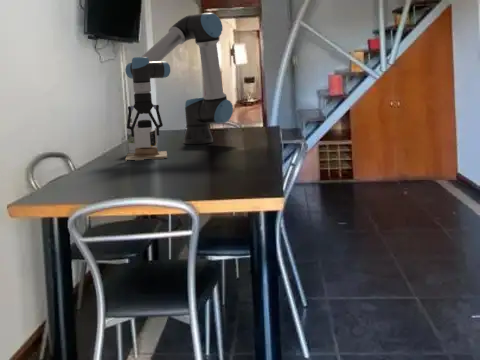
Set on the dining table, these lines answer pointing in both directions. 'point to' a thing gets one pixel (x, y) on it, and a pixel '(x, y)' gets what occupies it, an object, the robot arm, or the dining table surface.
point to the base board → (161, 156)
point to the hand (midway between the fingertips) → (146, 143)
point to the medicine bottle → (145, 135)
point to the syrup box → (131, 139)
